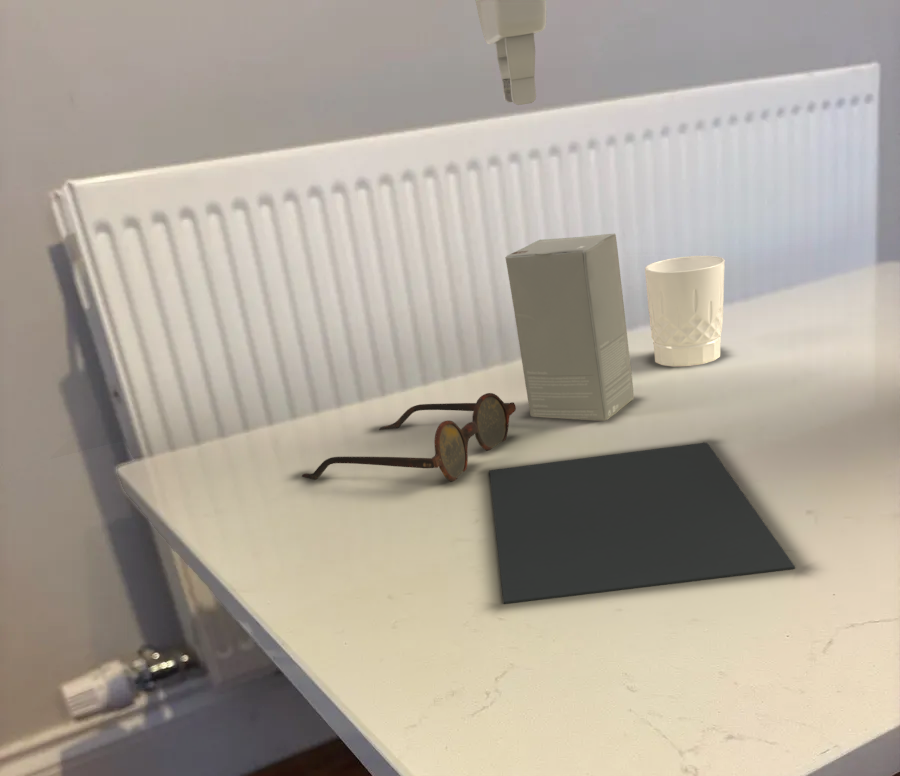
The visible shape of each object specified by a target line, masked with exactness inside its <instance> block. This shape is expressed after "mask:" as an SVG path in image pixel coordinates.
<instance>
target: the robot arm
mask: <svg viewBox="0 0 900 776" xmlns="http://www.w3.org/2000/svg"><path fill="white" fill-rule="evenodd" d="M475 5H476V11H477V14H478V19H479V24H480V28H481V32H482V35H483V38H484V41H485V43H486V44H488V45H495V50H496V51H495V52H496V59H497V64H498V65H497V66H498V69H499V75H500V79H501V86H502V93H503V94H502V97H503V100H504V101H505V102H506V103H513V104H515V105H516V106H521V105H528V104H533V103H534V102H535V101H536V99H537V92H536V91H537V90H536V78H535V76H536V75H535V74H536V43H535V42H536V41H535V34H538V33H540V32H543V31H544V30H545V29H546V27H547V17H548V16H547V14H548V13H547V0H475Z"/></svg>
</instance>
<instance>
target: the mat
mask: <svg viewBox="0 0 900 776" xmlns="http://www.w3.org/2000/svg"><path fill="white" fill-rule="evenodd" d="M489 479H490V480H489V482H490V490H491V497H492V509H493V517H494V526H495V535H496V544H497V545H496V546H497V554H498V563H499V574H500V581H501V583H500V584H501V590H502V599H503V600H502V602H503V605H509V604H517V603H526V602H534V601H535V602H536V601H542V600H550V599H552V600H553V599H558V598H568V597H575V596H584V595H592V594H600V593H608V592H617V591H624V590H625V591H626V590H634V589H641V588H642V589H643V588H649V587H650V588H651V587H659V586H666V585H674V584H675V585H676V584H681V583H690V582H701V581H706V580H707V581H708V580H717V579H724V578H725V579H726V578H732V577H733V578H734V577H741V576H749V575H756V574H765V573H773V572H782V571H790V570H795V569H796V566H795V565H794V563H793V562H792V560H791V559H790V557H789V556H788V555H787V553H786V551H785V550H784V549H783V547H782V546H781V544H780V543H779V542H778V541H777V539H776V538H775V536H774V535H773V533H772V532H771V530H770V529H769V528H768V526H767V525H766V524H765V522H764V521H763V519H762V518H761V517H760V515H759V514H758V513H757V511H756V510H755V508H754V507H753V506H752V504H751V503H750V501H749V500H748V499H747V497H746V496H745V494H744V493H743V491H742V490H741V489H740V487H739V485H738V484H737V483H736V481H735V480H734V478H733V477H732V476H731V475H730V473H729V472H728V469H727V468H725V466H724V464H723V463H722V462H721V460H720V458H718V455H716V453H715V451H714V450H713V449H712V448H711V446H710V445H709V443H708V442H700V443H691V444H683V445H675V446H667V447H661V448H651V449H645V450H636V451H628V452H622V453H613V454H605V455H598V456H590V457H589V456H588V457H583V458H574V459H567V460H557V461H552V462H542V463H536V464H528V465H520V466H512V467H504V468H499V469H497V468H496V469H490V470H489Z"/></svg>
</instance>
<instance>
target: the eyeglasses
mask: <svg viewBox="0 0 900 776" xmlns="http://www.w3.org/2000/svg"><path fill="white" fill-rule="evenodd" d="M516 409H517V406H516V404H515V402H504V401H503V400H502V398H500V397H499V396H498V395H497V394H495V393H493V392H487V393H484V394H482V395H481V396H480V397H479V398H478V399H476V402H455V403H454V402H452V403H451V402H449V403H422V404H416V405H413V406H410V407H409V408H408V409H407V410H406V411H404V412H403V414H402V415H400V417H399V418H398V419H397V420H396V421H395V422H393V423H391V424H387V425H384V426H381V427H379V428H378V430H379V431H386V430H393V429H398V428H400V427H401V426H402V425H403V424H404V423H405V422H406V421H407V419H409V417H410V416H411V415H412V414H413V413H416V412H419V411H457V412H458V411H460V412H472V418H471V419H472V420H471V421H469V422H468V423H466V424H465V425H464V426H463V427H462V428H460V427H459V426H458V425H457V423H456V422H454V421H453V420H444V421H442V422H441V423H440V424H439V425H438V426H437V428H436V431H435V435H434V455H433V456H432V457H409V456H408V457H405V456H403V457H401V456H399V457H398V456H332V457H329V458H327V459H325V460H323V462H322V463H320V465H318V467H317V468H316V469H315V470H314V471H313V472H312V473H309V472H308V473H307V472H306V473H302V475H301V477H303V478H307V479H311V480H317V479H319V478H320V477H321V475H322V474H323V473H324V472H325V471H326V469H328V467H329V466H330V465H334V464H353V465H354V464H355V465H356V464H357V465H371V466H385V467H396V468H397V467H398V468H399V467H400V468H414V469H438V468H439V470H440V471H441V473H442V475H443V476H444V477H445V479H447V480H448V481H449V482H455V481H456V480H457V479H458V477H459V476H460V475H461V474H462V473H464V472H465V471H466V470H467V469H468V460H469V458H468V457H469V456H468V454H469V453H468V450H469V449H468V447H469V446H468V445H469V440H470V439H471V438H472V437H473V436H475V439H476V441H477V443H478V445H479V446H480V447H481V448H482V449H484V450H486V451H491V450H492V449H493V448H495V447H496V446H498V445H499V444H501V443H503V442H505V441H506V439H507V438H508V433H509V426H510V417H511V415H512V414H514V412H516Z"/></svg>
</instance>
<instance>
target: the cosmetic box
mask: <svg viewBox="0 0 900 776" xmlns="http://www.w3.org/2000/svg"><path fill="white" fill-rule="evenodd" d="M505 264H506V270H507V275H508V281H509V288H510V293H511V294H510V295H511V299H512V306H513V311H514V318H515V326H516V333H517V338H518V344H519V345H518V346H519V350H520V351H519V352H520V357H521V358H520V359H521V364H522V370H523V371H522V372H523V377H524V383H525V390H526V395H527V401H528V409H529V416H530V417H535V418H549V419H567V420H582V421H583V420H584V421H597V422H599V421H600V422H606V421H608V420H609V419H610V418H612V417H613V416H614V415H616V414H617V413H618V412H619V411H621V410H622V409H623V408H625V407H626V406H627V405H628V404H629V403H630V402H632V401H634V398H635V393H634V385H633V384H634V383H633V374H632V366H631V357H630V356H631V355H630V347H629V339H628V338H629V337H628V330H627V321H626V313H625V312H626V311H625V303H624V295H623V284H622V276H621V268H620V267H621V266H620V259H619V249H618V242H617V233H606V234H605V233H604V234H596V235H595V234H594V235H586V236H585V235H584V236H574V237H561V238H545V239H538V240H537V241H534V242H532V243H530V244H528V245H526V246H524V247H522V248H520V249H518V250H516V251H514V252H512V253H510V254H507V255H506V256H505Z"/></svg>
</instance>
